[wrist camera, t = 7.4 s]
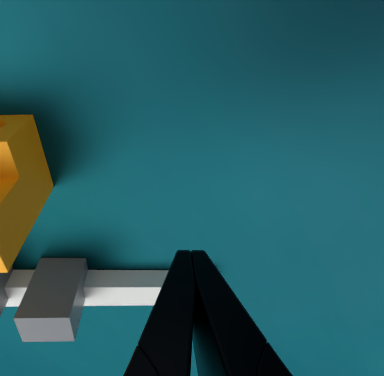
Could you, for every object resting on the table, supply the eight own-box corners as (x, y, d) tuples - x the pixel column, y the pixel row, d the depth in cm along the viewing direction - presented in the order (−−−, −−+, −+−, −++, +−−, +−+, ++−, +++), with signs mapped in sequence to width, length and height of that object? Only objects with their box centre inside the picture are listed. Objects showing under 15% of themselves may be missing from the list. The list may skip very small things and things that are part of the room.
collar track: (287, -214, 10) (366, -338, 6) (203, 287, 24) (211, 349, 20) (-426, -339, 8) (-1008, -647, 4) (-62, 288, 22) (-112, 357, 18)
